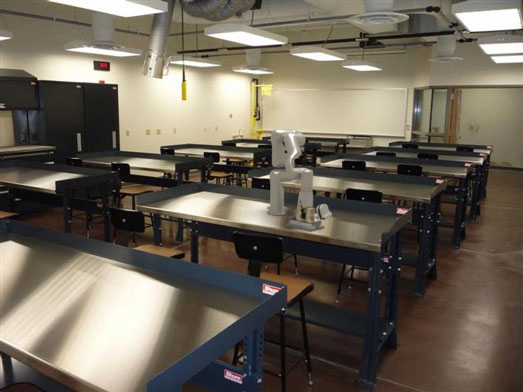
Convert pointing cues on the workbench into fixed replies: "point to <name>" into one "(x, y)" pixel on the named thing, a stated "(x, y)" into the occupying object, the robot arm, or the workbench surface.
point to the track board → (304, 224)
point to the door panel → (309, 215)
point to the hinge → (323, 211)
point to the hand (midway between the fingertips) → (305, 217)
